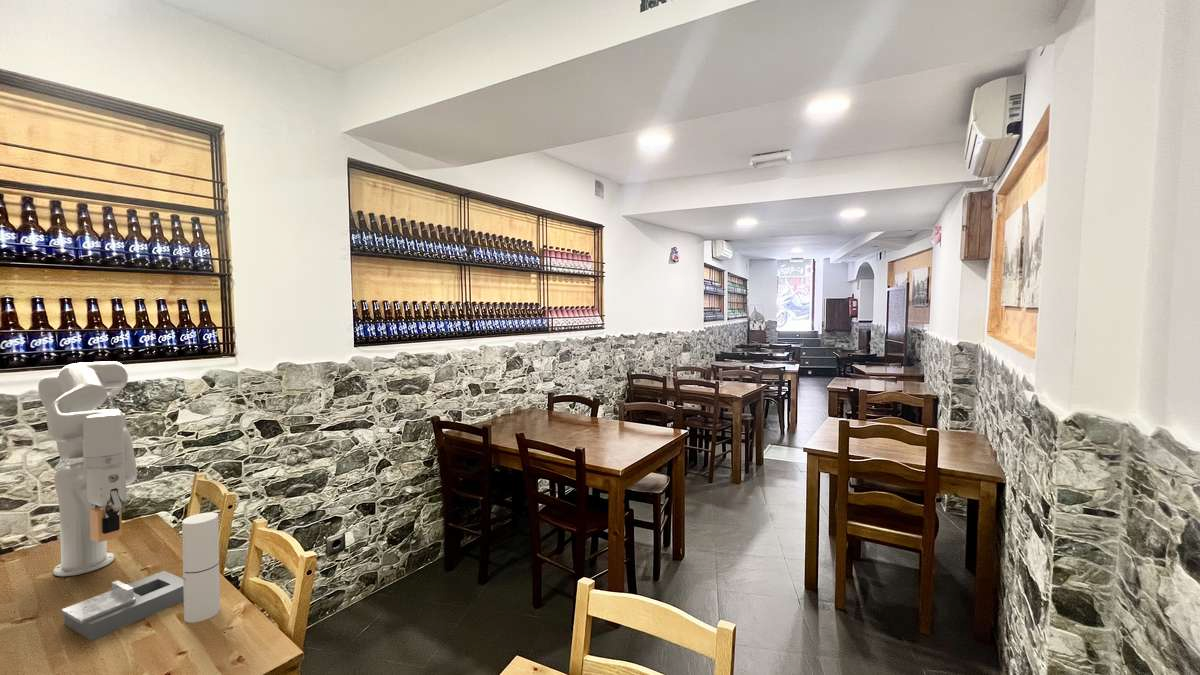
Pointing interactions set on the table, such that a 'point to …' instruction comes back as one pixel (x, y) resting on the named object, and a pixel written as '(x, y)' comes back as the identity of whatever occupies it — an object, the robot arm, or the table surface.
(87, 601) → the panel
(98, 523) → the plug peg
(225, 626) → the table surface
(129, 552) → the table surface
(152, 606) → the socket block
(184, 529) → the cylindrical container
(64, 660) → the table surface
